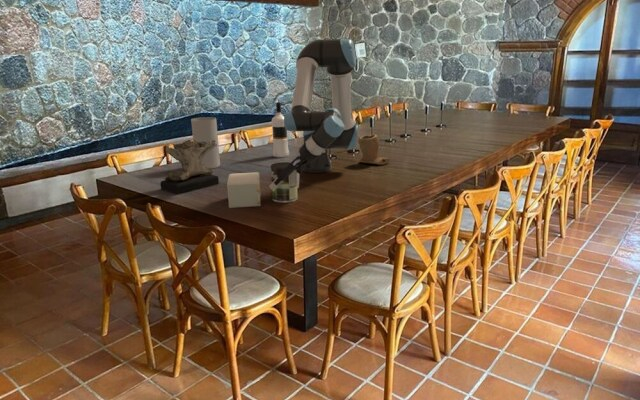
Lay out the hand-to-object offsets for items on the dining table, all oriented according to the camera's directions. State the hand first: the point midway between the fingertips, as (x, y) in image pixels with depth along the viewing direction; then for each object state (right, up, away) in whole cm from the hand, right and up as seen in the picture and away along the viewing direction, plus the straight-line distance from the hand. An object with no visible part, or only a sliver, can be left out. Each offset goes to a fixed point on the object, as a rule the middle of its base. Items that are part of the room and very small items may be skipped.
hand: (278, 184), depth 202 cm
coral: (-38, -1, +22) cm, 44 cm away
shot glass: (+5, -1, +17) cm, 18 cm away
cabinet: (-13, -7, -1) cm, 15 cm away
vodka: (-5, +19, +83) cm, 85 cm away
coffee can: (+3, -6, +1) cm, 7 cm away
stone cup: (+44, +12, +58) cm, 74 cm away
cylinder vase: (-42, +11, +62) cm, 75 cm away
